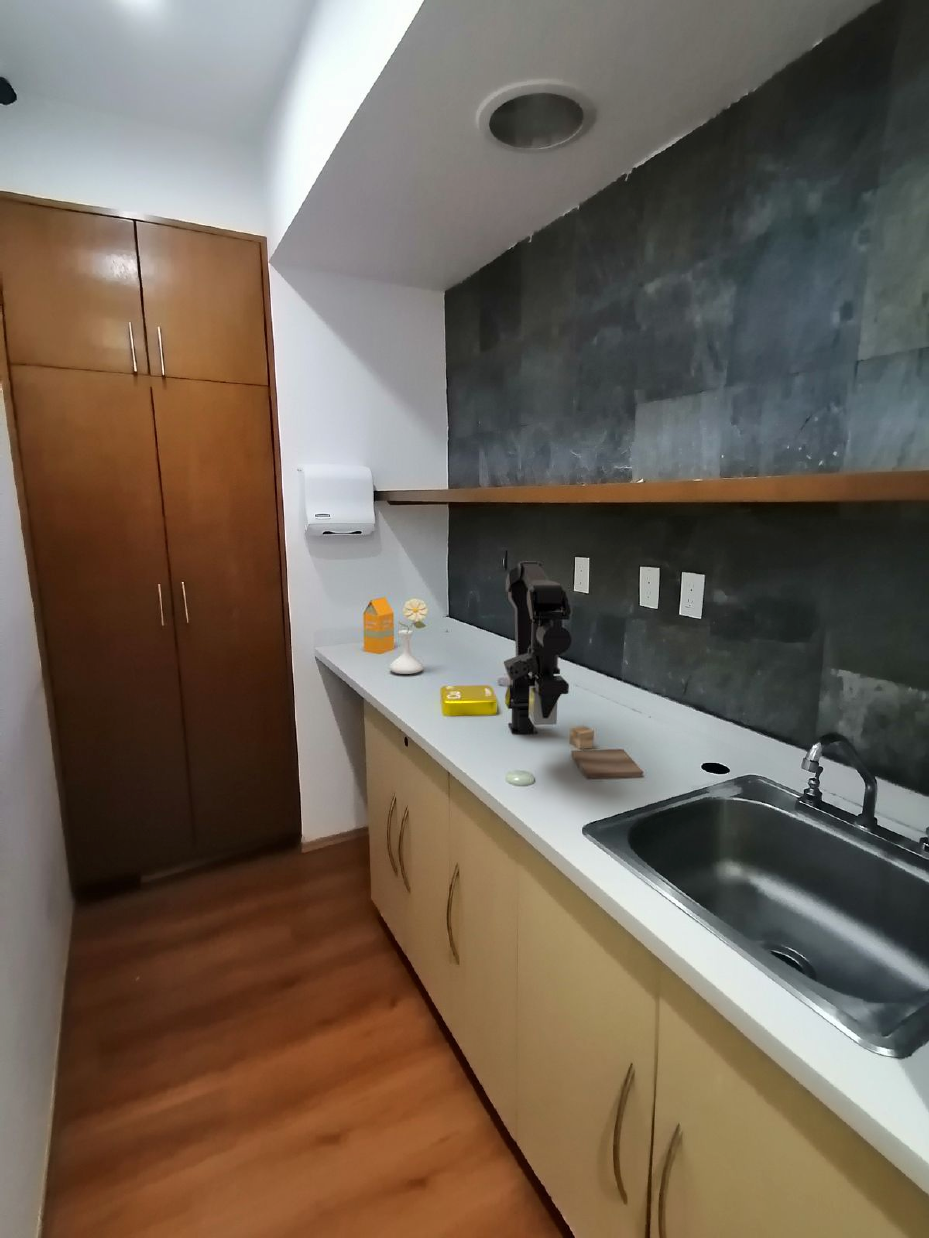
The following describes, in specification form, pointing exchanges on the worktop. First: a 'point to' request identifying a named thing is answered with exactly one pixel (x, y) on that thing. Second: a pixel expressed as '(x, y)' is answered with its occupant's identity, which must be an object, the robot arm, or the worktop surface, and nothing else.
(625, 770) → the walnut board
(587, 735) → the oak cube
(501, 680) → the stone block
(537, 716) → the slate block
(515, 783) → the pale green rounded piece
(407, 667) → the flower in vase
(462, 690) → the element tile
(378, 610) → the orange juice
